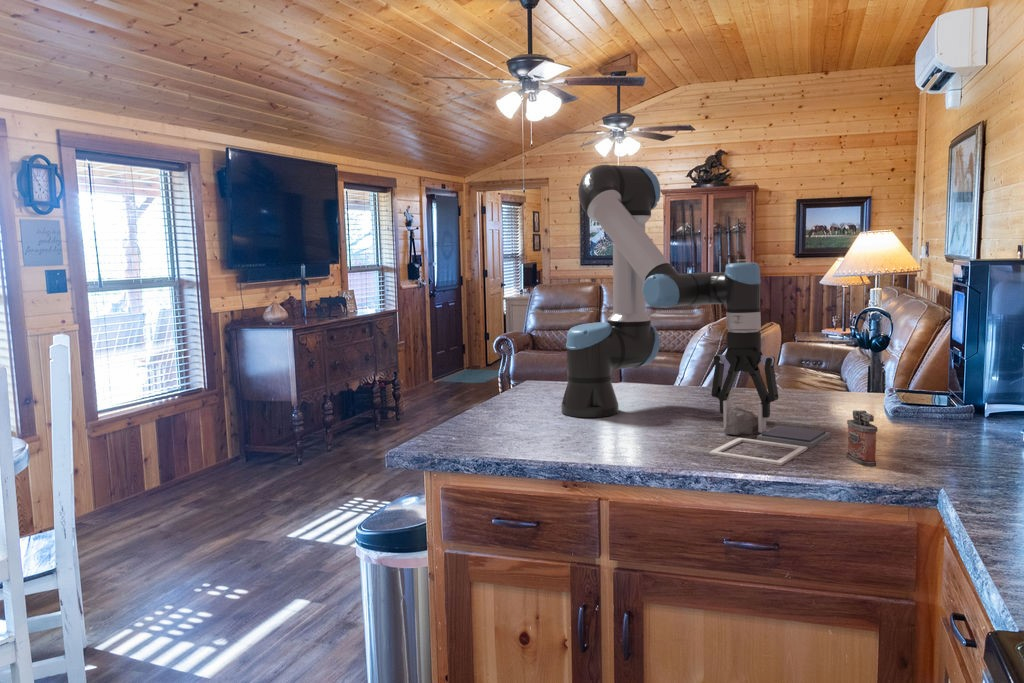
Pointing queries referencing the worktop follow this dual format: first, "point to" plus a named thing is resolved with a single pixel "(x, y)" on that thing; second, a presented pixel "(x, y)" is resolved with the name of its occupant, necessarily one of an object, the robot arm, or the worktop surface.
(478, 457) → the worktop surface
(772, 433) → the ink pad
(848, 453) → the lighter
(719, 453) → the white flat square frame
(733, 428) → the stone
